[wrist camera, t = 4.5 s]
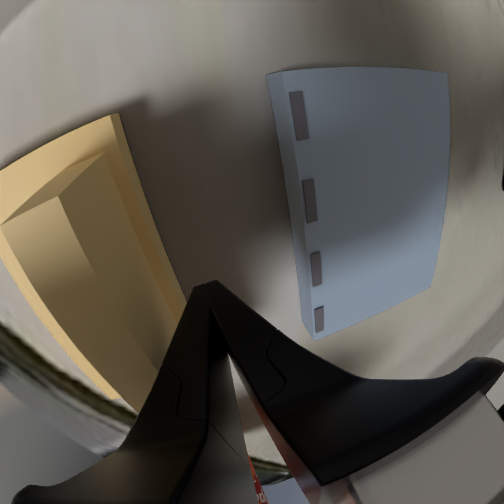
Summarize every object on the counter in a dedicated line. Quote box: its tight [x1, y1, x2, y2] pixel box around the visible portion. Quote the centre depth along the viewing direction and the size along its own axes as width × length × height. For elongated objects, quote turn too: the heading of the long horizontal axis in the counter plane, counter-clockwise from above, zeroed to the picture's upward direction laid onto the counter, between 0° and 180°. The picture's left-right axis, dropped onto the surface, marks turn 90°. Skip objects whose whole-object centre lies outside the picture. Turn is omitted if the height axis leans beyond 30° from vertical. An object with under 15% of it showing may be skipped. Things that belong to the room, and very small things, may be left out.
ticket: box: [266, 67, 450, 341], centre depth 12 cm, size 8×12×2 cm, turn 11°
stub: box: [0, 113, 187, 413], centre depth 9 cm, size 6×12×6 cm, turn 11°
